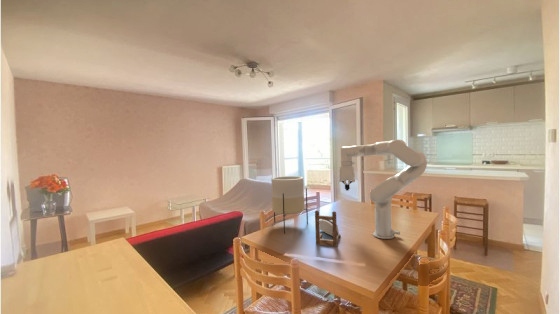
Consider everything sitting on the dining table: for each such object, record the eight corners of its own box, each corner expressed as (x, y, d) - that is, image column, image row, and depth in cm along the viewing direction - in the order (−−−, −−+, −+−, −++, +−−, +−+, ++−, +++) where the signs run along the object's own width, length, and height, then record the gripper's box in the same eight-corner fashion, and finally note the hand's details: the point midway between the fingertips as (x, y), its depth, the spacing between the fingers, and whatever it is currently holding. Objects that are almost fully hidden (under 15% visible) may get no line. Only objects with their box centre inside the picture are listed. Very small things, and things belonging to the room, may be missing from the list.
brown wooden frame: (339, 239, 141) (338, 207, 141) (337, 246, 131) (336, 212, 131) (319, 237, 146) (318, 206, 145) (315, 244, 135) (314, 210, 135)
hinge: (341, 237, 145) (339, 222, 145) (335, 239, 143) (333, 224, 143) (325, 229, 160) (323, 216, 160) (319, 231, 158) (318, 217, 158)
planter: (293, 235, 152) (292, 180, 151) (261, 229, 166) (259, 179, 165) (310, 224, 174) (308, 176, 174) (280, 219, 188) (278, 175, 188)
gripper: (358, 163, 161) (358, 189, 161) (336, 163, 166) (337, 189, 167) (357, 164, 154) (358, 191, 154) (334, 164, 159) (335, 190, 160)
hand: (347, 190), depth 160 cm, fingers closed
